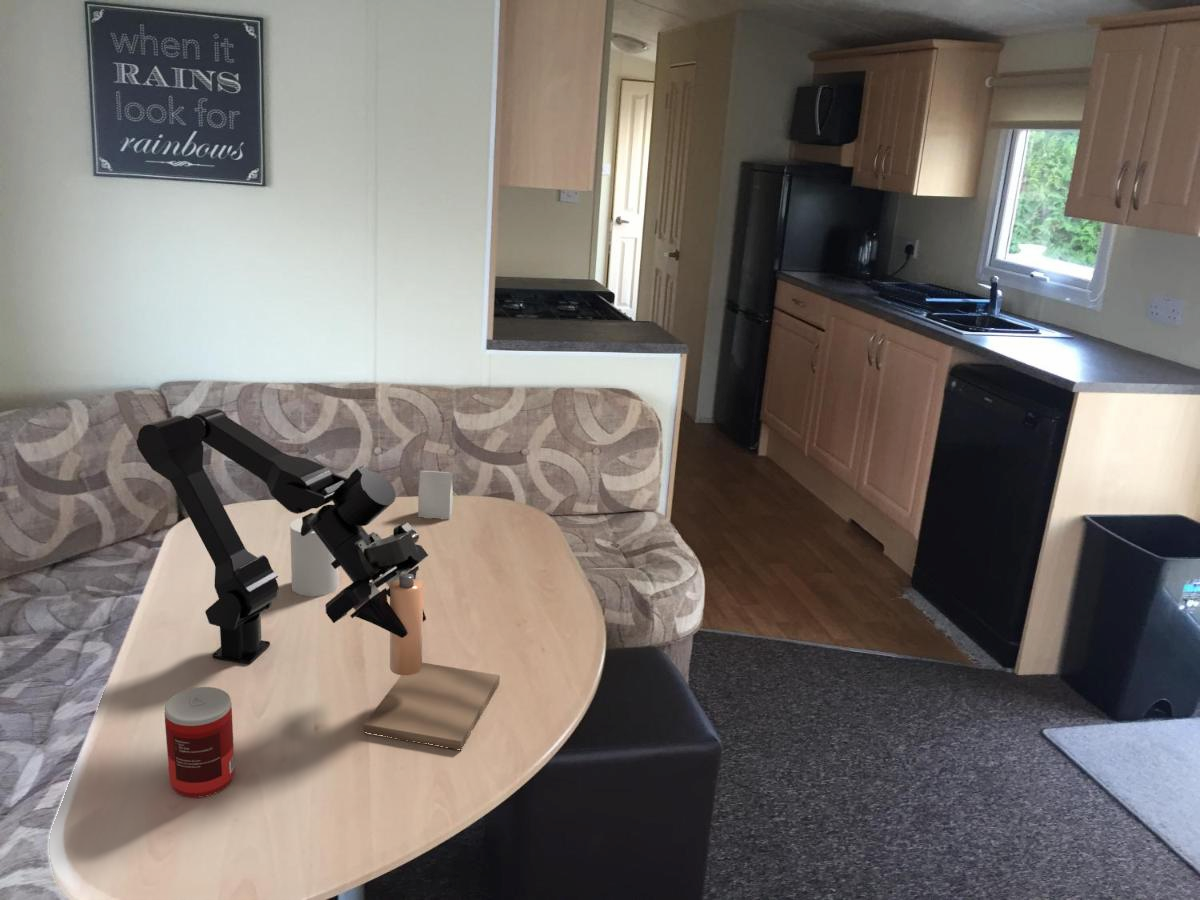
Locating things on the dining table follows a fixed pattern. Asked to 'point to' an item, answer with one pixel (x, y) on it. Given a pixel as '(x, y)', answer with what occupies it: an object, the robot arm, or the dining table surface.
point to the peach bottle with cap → (407, 625)
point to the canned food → (199, 741)
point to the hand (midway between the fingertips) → (414, 628)
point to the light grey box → (435, 494)
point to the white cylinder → (311, 564)
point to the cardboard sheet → (434, 706)
